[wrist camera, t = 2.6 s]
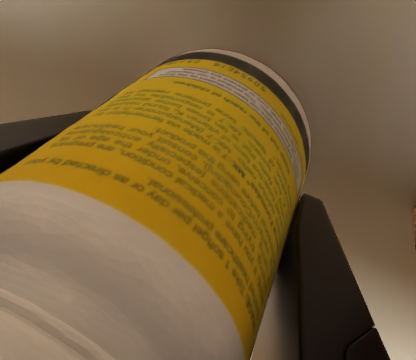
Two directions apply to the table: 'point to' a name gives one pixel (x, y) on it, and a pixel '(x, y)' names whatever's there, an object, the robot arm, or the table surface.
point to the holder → (414, 222)
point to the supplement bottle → (155, 218)
